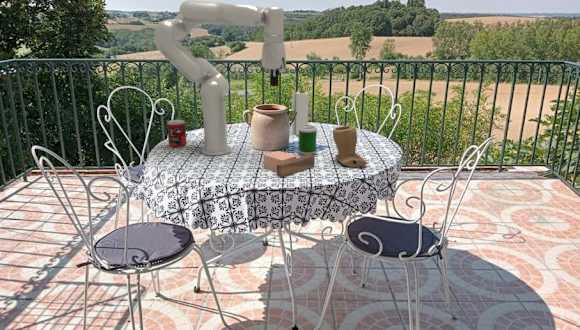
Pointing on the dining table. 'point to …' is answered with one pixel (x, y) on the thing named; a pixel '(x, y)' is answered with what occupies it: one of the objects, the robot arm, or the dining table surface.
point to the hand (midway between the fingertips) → (274, 85)
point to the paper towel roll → (300, 110)
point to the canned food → (176, 133)
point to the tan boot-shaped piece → (347, 146)
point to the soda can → (307, 139)
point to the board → (295, 165)
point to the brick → (276, 159)
